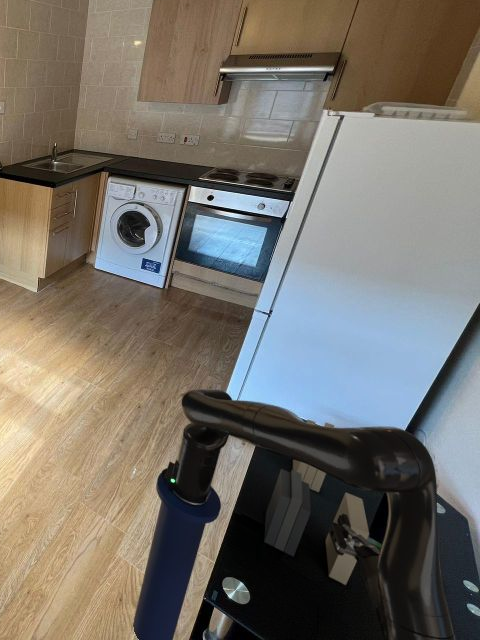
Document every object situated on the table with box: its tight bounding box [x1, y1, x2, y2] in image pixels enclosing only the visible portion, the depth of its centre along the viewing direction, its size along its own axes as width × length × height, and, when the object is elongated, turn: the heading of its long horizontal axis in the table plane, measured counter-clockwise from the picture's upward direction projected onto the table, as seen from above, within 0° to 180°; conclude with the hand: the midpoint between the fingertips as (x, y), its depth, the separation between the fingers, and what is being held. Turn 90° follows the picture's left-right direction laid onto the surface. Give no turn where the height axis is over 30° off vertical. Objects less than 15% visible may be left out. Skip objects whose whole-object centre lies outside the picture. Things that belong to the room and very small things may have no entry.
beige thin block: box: [325, 492, 370, 586], centre depth 95 cm, size 3×11×16 cm, turn 143°
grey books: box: [263, 468, 312, 557], centre depth 101 cm, size 6×10×16 cm, turn 143°
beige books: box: [292, 419, 335, 493], centre depth 119 cm, size 6×10×17 cm, turn 143°
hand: (370, 527), depth 84 cm, fingers open, 8 cm apart
